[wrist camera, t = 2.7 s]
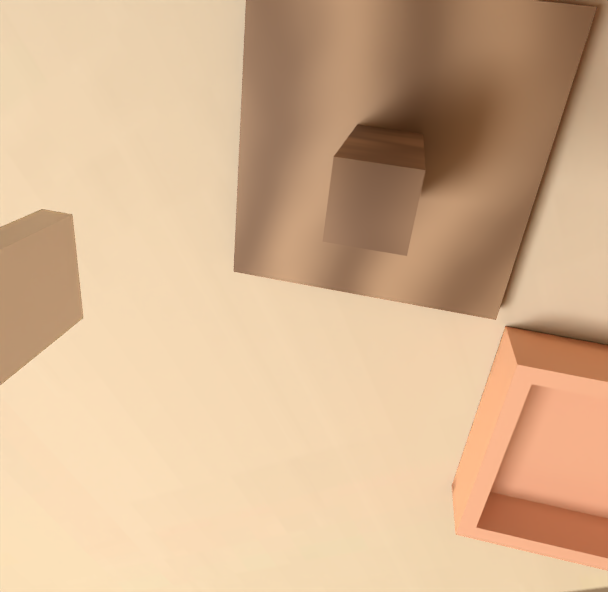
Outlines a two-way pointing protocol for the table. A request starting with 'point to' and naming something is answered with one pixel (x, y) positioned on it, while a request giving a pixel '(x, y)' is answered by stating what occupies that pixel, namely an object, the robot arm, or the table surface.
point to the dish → (539, 451)
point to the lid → (399, 142)
